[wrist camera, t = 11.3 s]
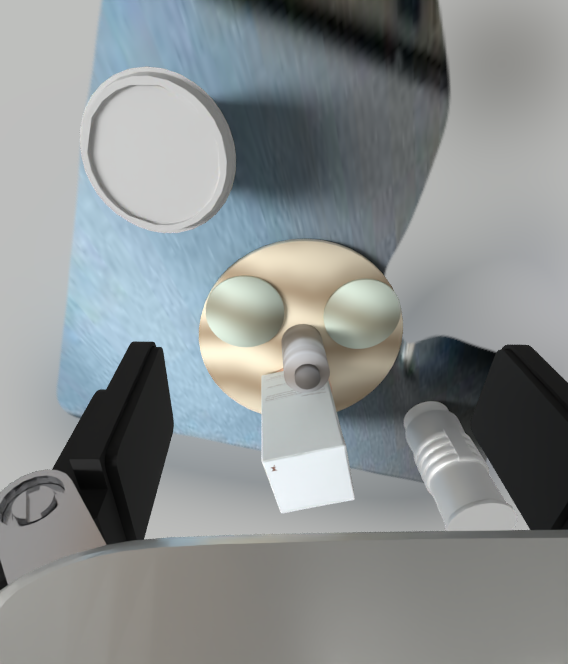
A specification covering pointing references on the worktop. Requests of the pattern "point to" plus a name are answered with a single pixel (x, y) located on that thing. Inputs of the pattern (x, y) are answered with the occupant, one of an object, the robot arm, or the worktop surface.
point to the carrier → (301, 322)
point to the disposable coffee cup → (157, 150)
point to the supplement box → (303, 446)
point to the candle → (455, 471)
